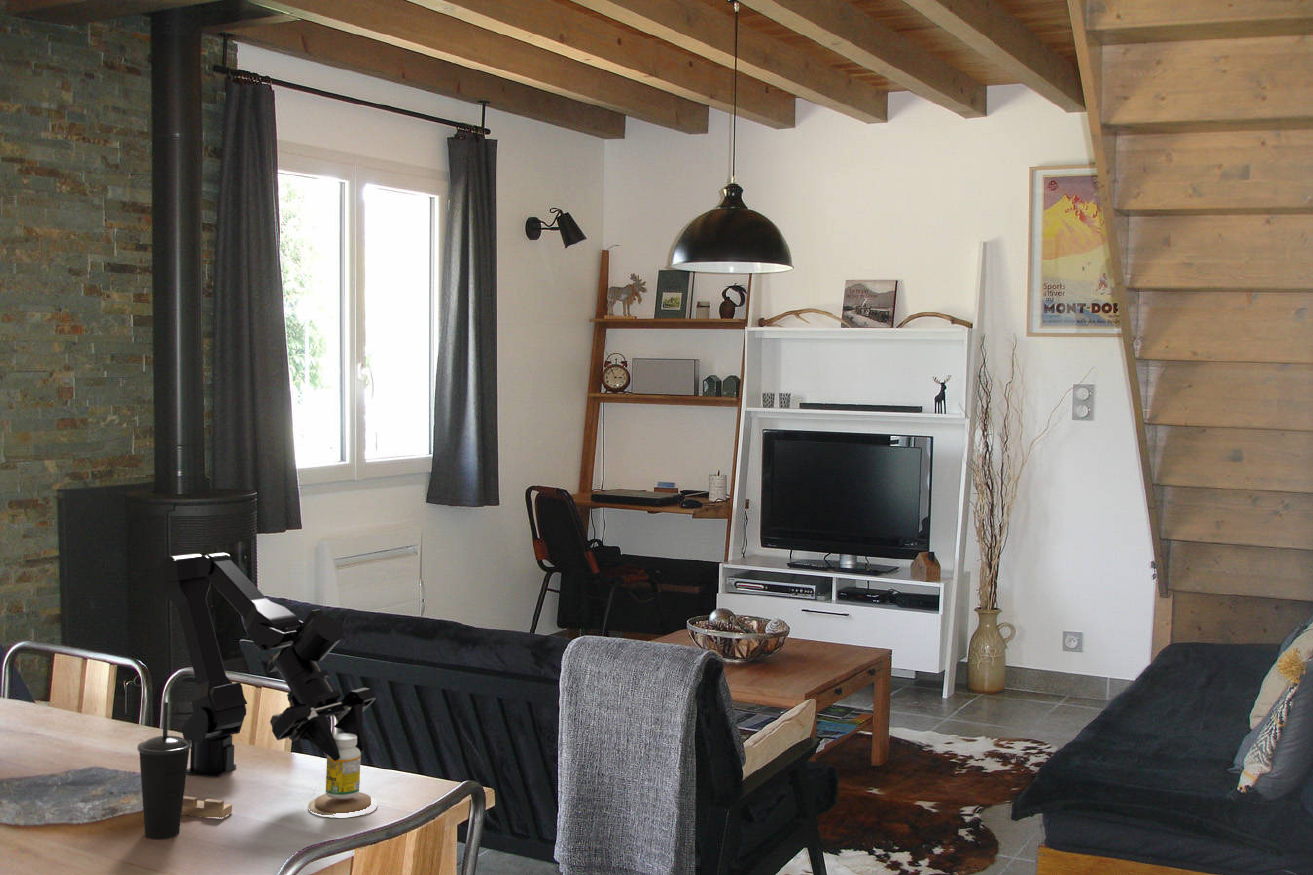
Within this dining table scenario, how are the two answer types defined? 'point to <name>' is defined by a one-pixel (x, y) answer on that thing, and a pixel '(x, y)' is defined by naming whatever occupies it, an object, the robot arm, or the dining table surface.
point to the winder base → (339, 804)
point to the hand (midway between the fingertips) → (350, 755)
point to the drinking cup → (163, 781)
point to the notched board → (205, 807)
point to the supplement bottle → (344, 768)
